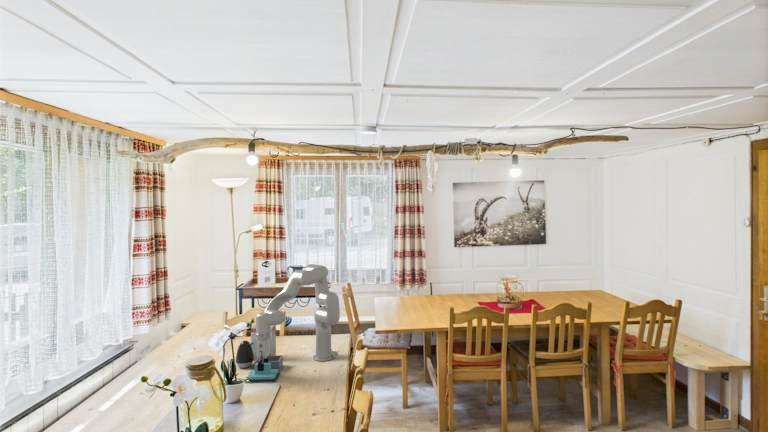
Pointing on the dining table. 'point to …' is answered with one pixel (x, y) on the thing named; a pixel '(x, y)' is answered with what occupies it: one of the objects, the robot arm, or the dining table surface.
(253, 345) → the cracker box
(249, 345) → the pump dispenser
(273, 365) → the tub
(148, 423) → the dining table surface
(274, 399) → the dining table surface
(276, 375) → the mat
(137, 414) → the dining table surface
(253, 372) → the lid
